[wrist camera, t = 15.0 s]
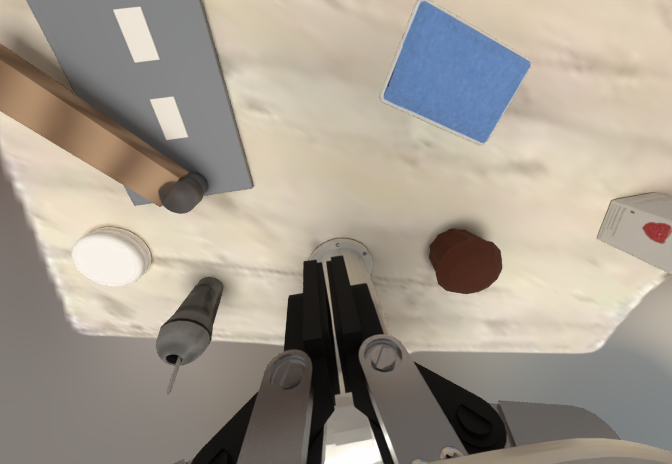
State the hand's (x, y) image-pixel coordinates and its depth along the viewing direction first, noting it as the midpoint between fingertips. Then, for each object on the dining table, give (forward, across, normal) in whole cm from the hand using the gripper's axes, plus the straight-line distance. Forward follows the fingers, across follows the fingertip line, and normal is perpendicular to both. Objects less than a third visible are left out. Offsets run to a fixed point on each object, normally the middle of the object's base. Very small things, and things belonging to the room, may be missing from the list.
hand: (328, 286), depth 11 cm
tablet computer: (+33, -22, -7) cm, 40 cm away
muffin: (+32, -24, +22) cm, 46 cm away
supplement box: (+32, -60, +21) cm, 71 cm away
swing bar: (+28, +25, -6) cm, 38 cm away
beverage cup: (+32, +23, +22) cm, 45 cm away
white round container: (+33, +35, +12) cm, 49 cm away
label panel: (+32, +19, -9) cm, 38 cm away
